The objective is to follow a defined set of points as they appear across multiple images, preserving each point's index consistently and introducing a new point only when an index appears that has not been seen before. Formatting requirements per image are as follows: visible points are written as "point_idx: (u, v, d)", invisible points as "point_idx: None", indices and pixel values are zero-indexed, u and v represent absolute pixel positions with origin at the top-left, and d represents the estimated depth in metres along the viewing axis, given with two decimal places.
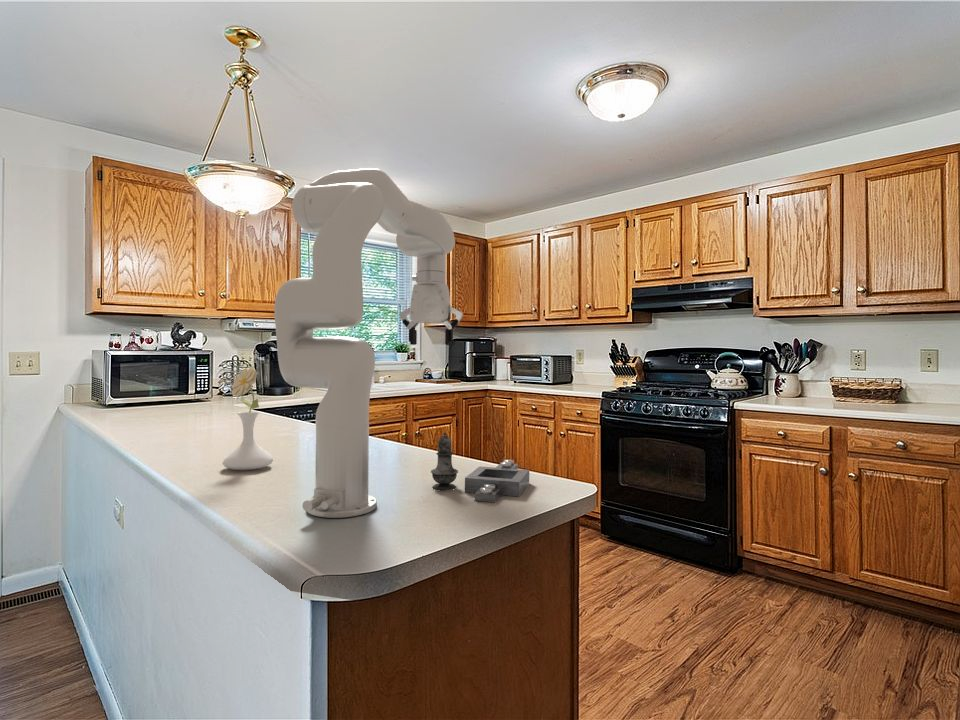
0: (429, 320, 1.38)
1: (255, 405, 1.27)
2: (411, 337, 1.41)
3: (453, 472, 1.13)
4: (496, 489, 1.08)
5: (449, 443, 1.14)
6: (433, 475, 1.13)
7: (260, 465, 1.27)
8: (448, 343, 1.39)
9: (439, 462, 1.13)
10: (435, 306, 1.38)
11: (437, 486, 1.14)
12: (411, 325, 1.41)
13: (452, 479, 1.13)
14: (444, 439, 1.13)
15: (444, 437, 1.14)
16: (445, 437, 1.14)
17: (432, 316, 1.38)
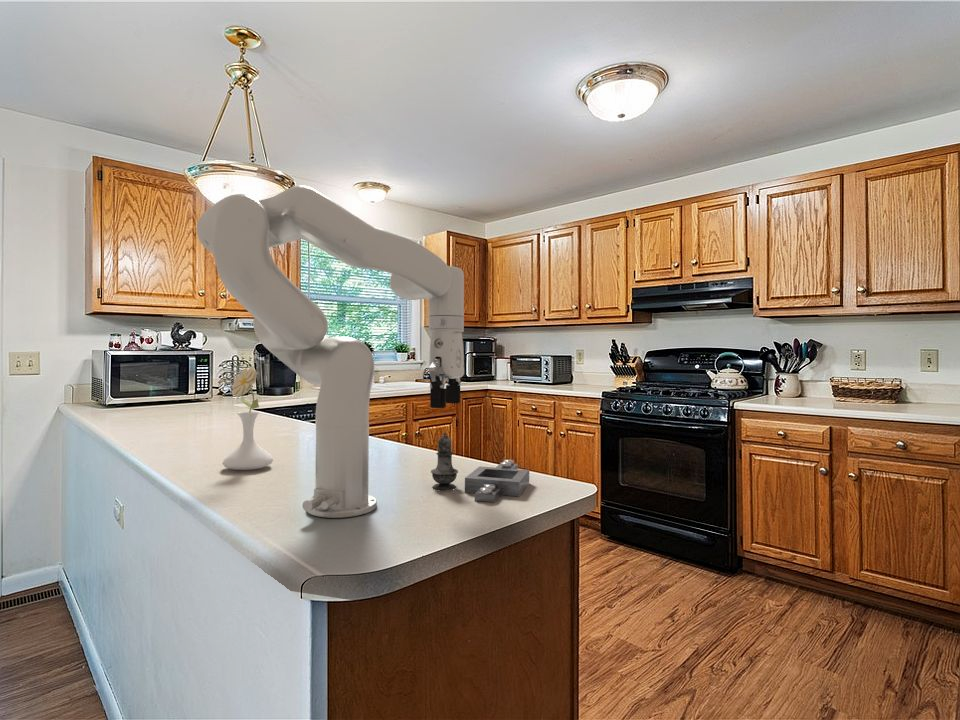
0: (458, 376, 1.14)
1: (255, 405, 1.27)
2: (445, 398, 1.09)
3: (453, 472, 1.13)
4: (496, 489, 1.08)
5: (449, 443, 1.14)
6: (433, 475, 1.13)
7: (260, 465, 1.27)
8: None
9: (440, 462, 1.13)
10: (461, 359, 1.16)
11: (437, 486, 1.14)
12: (444, 383, 1.09)
13: (452, 479, 1.13)
14: (444, 439, 1.13)
15: (444, 437, 1.14)
16: (445, 437, 1.14)
17: (460, 371, 1.15)
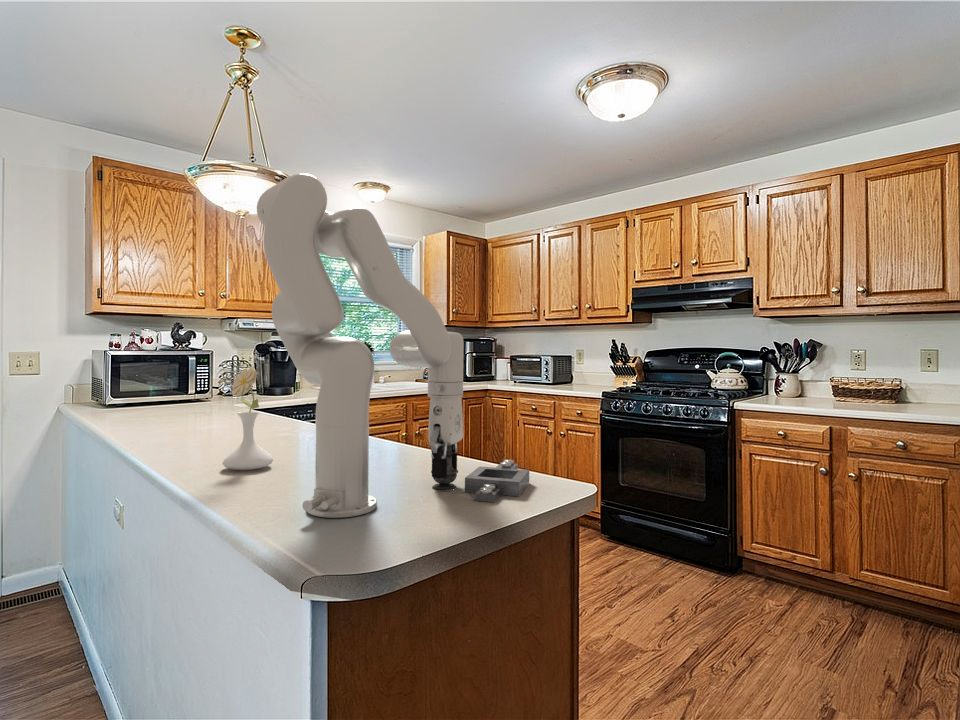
0: (457, 440, 1.14)
1: (255, 405, 1.27)
2: (446, 469, 1.11)
3: (453, 472, 1.13)
4: (496, 489, 1.08)
5: None
6: None
7: (260, 465, 1.27)
8: None
9: None
10: (460, 423, 1.16)
11: (437, 486, 1.14)
12: (445, 453, 1.11)
13: (452, 479, 1.13)
14: None
15: None
16: None
17: (459, 435, 1.15)
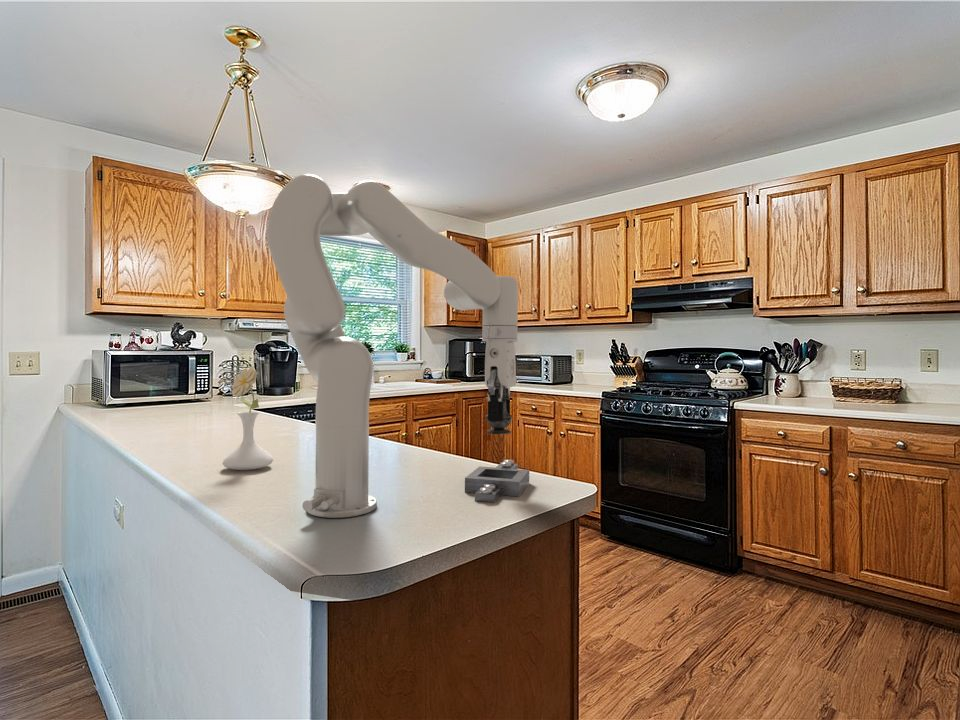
0: (512, 385, 1.14)
1: (255, 405, 1.27)
2: None
3: (508, 416, 1.13)
4: (496, 489, 1.08)
5: (504, 387, 1.14)
6: None
7: (260, 465, 1.27)
8: None
9: None
10: (514, 368, 1.16)
11: (492, 430, 1.14)
12: (501, 396, 1.11)
13: (507, 423, 1.13)
14: None
15: None
16: None
17: (513, 380, 1.15)
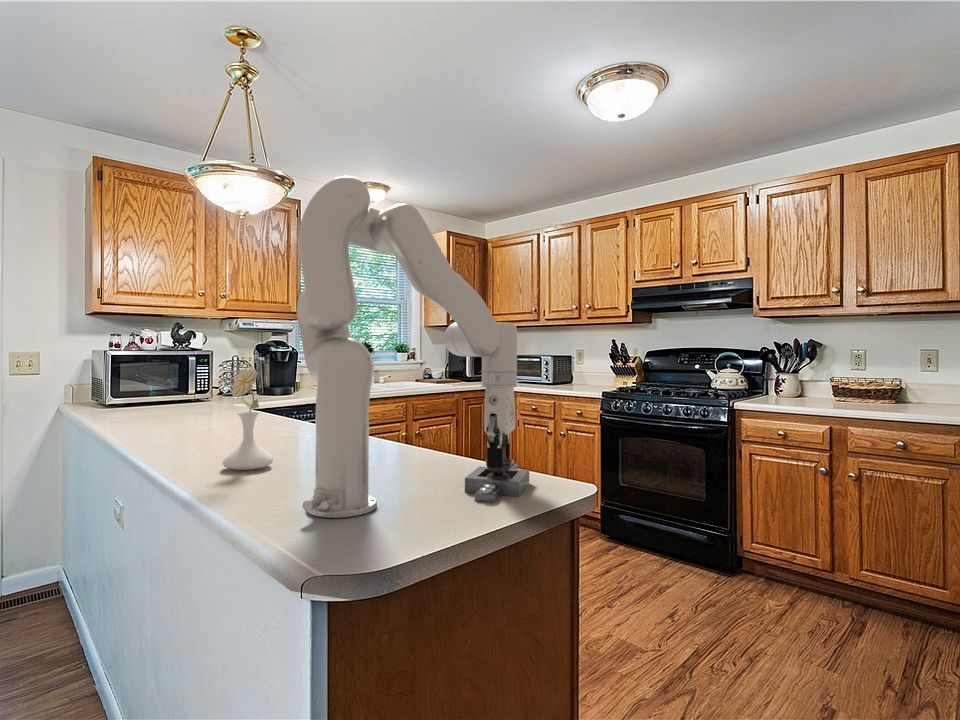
0: (511, 430, 1.15)
1: (255, 405, 1.27)
2: (502, 458, 1.11)
3: (508, 461, 1.13)
4: (496, 489, 1.08)
5: (503, 433, 1.14)
6: None
7: (260, 465, 1.27)
8: None
9: None
10: (513, 413, 1.16)
11: (492, 476, 1.14)
12: (501, 442, 1.11)
13: (507, 468, 1.13)
14: None
15: None
16: None
17: (512, 425, 1.15)
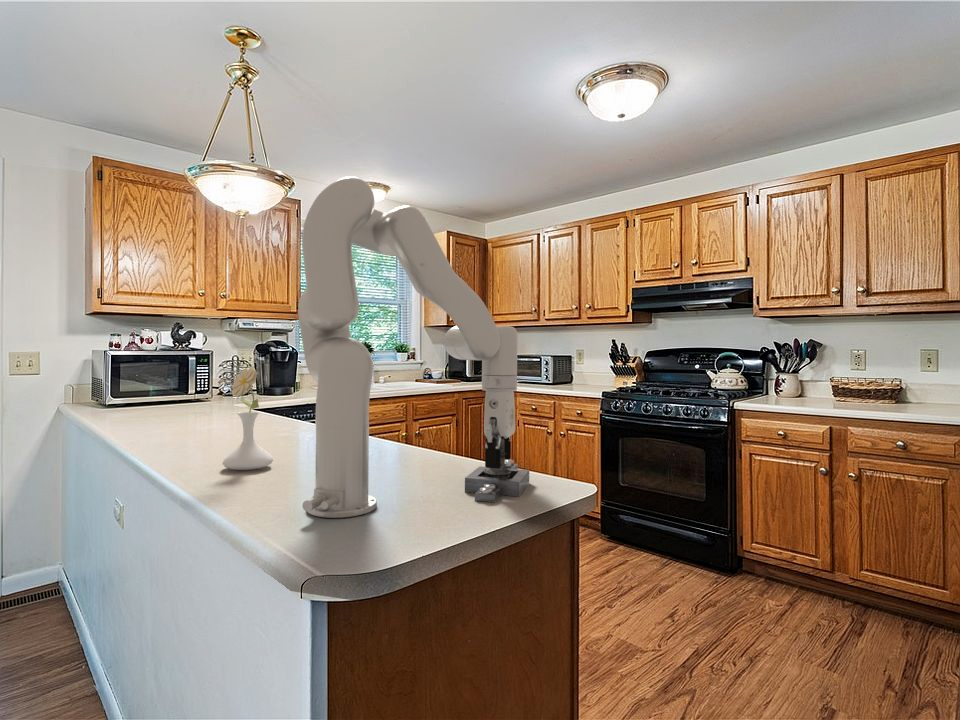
0: (511, 434, 1.15)
1: (255, 405, 1.27)
2: (500, 459, 1.10)
3: (507, 472, 1.13)
4: (496, 489, 1.08)
5: (502, 443, 1.14)
6: (487, 475, 1.14)
7: (260, 465, 1.27)
8: None
9: None
10: (513, 416, 1.16)
11: None
12: (499, 443, 1.10)
13: None
14: None
15: None
16: None
17: (512, 429, 1.15)
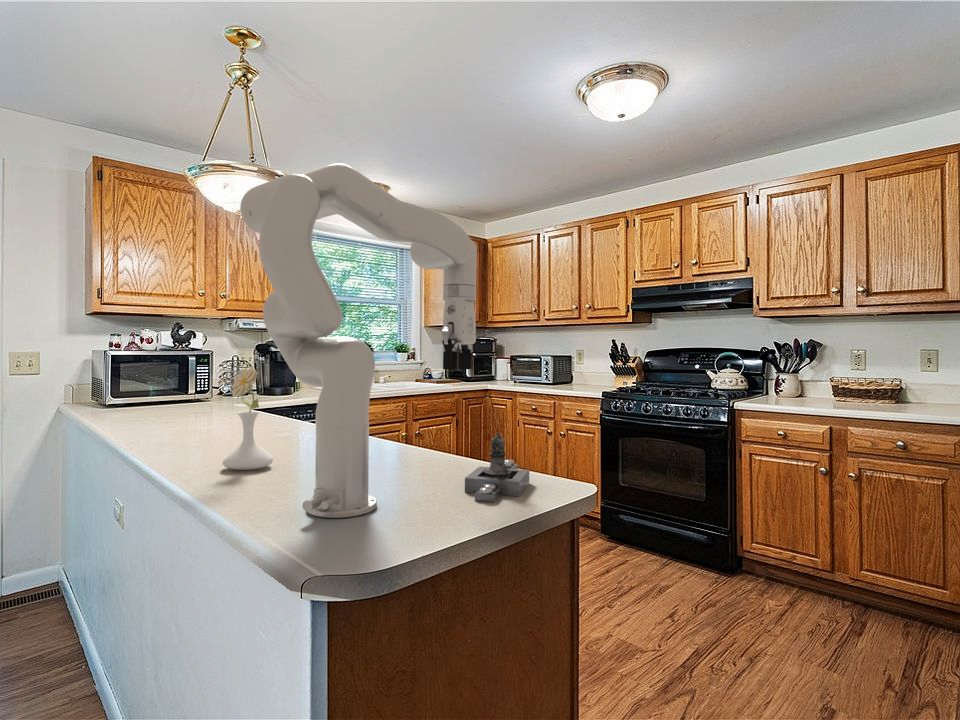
0: (470, 342, 1.22)
1: (255, 405, 1.27)
2: None
3: (507, 472, 1.13)
4: (496, 489, 1.08)
5: (502, 443, 1.14)
6: (487, 475, 1.14)
7: (260, 465, 1.27)
8: None
9: (493, 462, 1.14)
10: (473, 326, 1.23)
11: None
12: (456, 347, 1.17)
13: None
14: (497, 439, 1.14)
15: (497, 437, 1.14)
16: (498, 437, 1.14)
17: (472, 337, 1.23)
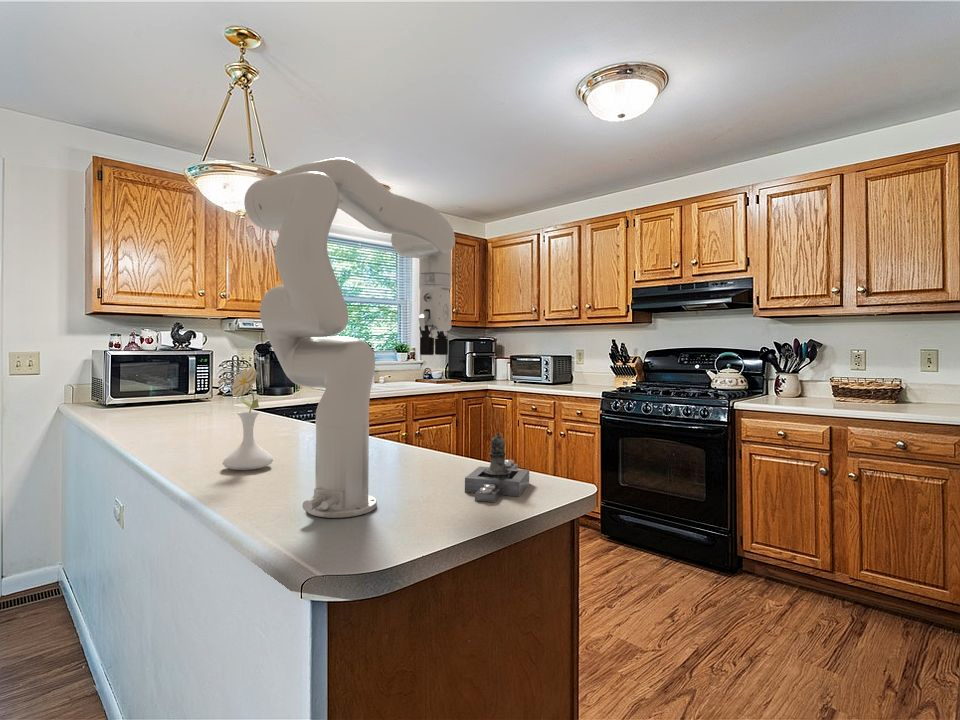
0: (446, 328, 1.27)
1: (255, 405, 1.27)
2: (433, 346, 1.22)
3: (507, 472, 1.13)
4: (496, 489, 1.08)
5: (502, 443, 1.14)
6: (487, 475, 1.14)
7: (260, 465, 1.27)
8: None
9: (493, 462, 1.14)
10: (448, 314, 1.29)
11: None
12: (432, 333, 1.22)
13: None
14: (497, 439, 1.14)
15: (497, 437, 1.14)
16: (498, 437, 1.14)
17: (447, 324, 1.28)
